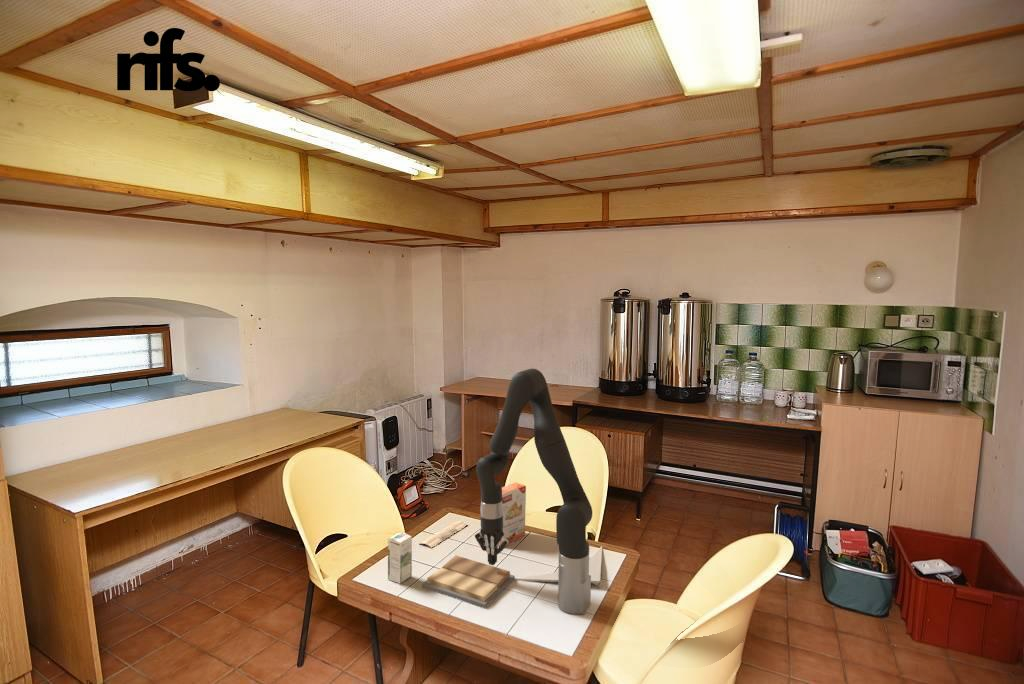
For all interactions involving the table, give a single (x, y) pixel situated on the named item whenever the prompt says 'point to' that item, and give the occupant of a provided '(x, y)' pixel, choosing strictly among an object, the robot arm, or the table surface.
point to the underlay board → (467, 598)
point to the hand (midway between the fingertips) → (492, 563)
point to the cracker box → (513, 511)
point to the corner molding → (553, 577)
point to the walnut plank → (478, 570)
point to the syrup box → (399, 557)
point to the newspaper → (444, 534)
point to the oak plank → (462, 583)
